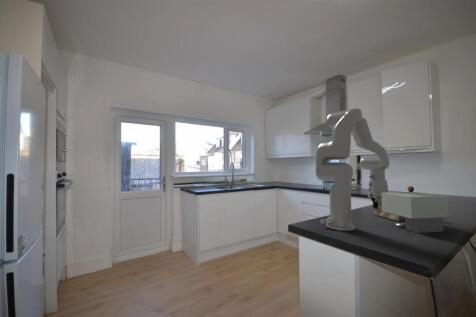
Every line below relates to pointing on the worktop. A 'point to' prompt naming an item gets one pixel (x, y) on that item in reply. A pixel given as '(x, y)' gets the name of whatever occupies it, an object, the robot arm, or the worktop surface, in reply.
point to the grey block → (417, 210)
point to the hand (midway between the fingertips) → (378, 207)
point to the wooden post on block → (385, 214)
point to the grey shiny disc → (400, 224)
